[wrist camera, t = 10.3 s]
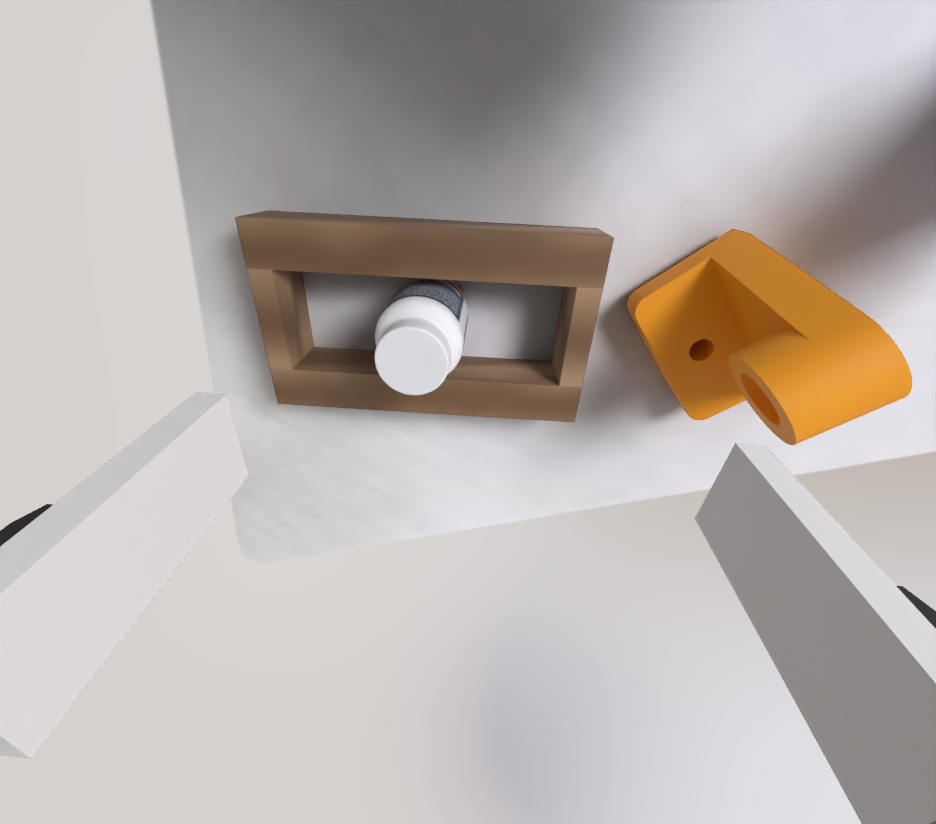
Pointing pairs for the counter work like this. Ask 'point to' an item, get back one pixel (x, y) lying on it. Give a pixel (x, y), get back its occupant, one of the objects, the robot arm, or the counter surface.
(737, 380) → the bracket
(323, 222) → the brown open rectangular frame
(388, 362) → the pill bottle
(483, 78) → the counter surface
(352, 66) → the counter surface
